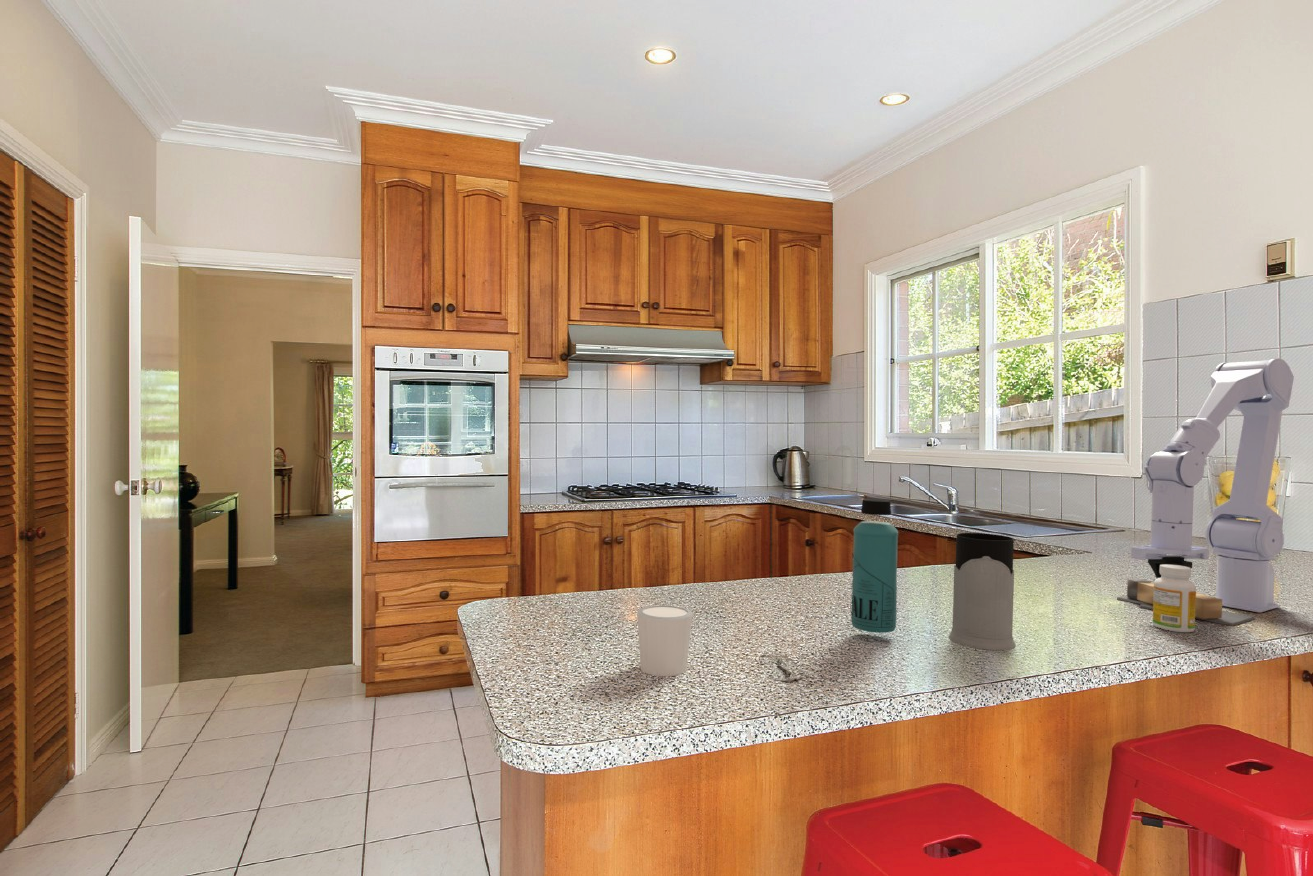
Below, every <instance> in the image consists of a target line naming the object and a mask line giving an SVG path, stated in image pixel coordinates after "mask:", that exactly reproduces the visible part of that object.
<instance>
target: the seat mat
mask: <svg viewBox="0 0 1313 876" xmlns="http://www.w3.org/2000/svg"><path fill="white" fill-rule="evenodd" d="M1138 605H1139V606H1138V607H1139V608H1140V609H1147V610H1150V609H1151V611H1153V604H1150V603H1146V604H1138ZM1195 618H1197V619H1196V620H1200V619H1201V621H1206V622H1210V623H1216V624H1221V625H1226V626H1231V627H1234V626H1236V625H1239V624H1243V623H1246V622H1249V621H1252V620H1255V619H1256V618H1255V616H1252V615H1248V614H1241V613H1237V612H1233V611H1232V612H1231V611H1226V610H1222V618H1208V619H1203V618H1199V617H1196V616H1195Z"/></svg>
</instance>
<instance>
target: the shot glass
mask: <svg viewBox="0 0 1313 876" xmlns="http://www.w3.org/2000/svg"><path fill="white" fill-rule="evenodd" d="M693 615H694V612H693V611H691V610H690V609H688V608H685V607H680V606H676V605H651V606H644V607H642V608H638V610H637V612H636V616H637V617H636V618H637V631H638V645H639V649H638V650H639V661H640V670H641V671H642V672H643V673H646V674H648V675H652V676H657V677H658V676H659V677H672V676H679V675H682V674H684V673H686V671H687V667H688V660H689V659H688V658H689V650H690V644H691V643H690V641H691V631H692V623H693Z"/></svg>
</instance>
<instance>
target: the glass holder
mask: <svg viewBox="0 0 1313 876" xmlns="http://www.w3.org/2000/svg"><path fill="white" fill-rule="evenodd" d="M1014 542H1015V539H1014V538H1013V537H1011V536H1008V535H1007V536H1006V535H1000V534H994V533H982V532H981V533H979V532H960V533H956V539H955V565H954V569H953V594H952V595H953V597H952V598H953V599H952V600H953V601H952V627H951V631H950V633H949V635H948V638H949V639H950V641H952V642H954V643H956V644H957V645H961V646H965V647H970V648H974V649H980V650H989V651H1006V650H1012V649H1014V648H1016V642H1015V640H1014V637H1013V629H1014V628H1013V624H1014V623H1013V622H1014V590H1015V569H1014V546H1015V544H1014Z"/></svg>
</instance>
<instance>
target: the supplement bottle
mask: <svg viewBox="0 0 1313 876" xmlns="http://www.w3.org/2000/svg"><path fill="white" fill-rule="evenodd" d="M1159 572H1160V574H1161V578H1155V579H1154V596H1153V610H1152V625H1153V626H1154V627H1155V628H1157V627H1158V628H1157V629H1160V628H1161V629H1160V630H1165V631H1168V630H1169V631H1170V632H1175V633H1192V632H1194V631H1195V629H1196V619H1195V605H1196V593H1197V586H1196V584H1195V583H1194V582H1192V581H1190V578H1191V576H1192V568H1189V567H1186V566H1180V565H1168V564H1164V565H1160V571H1159Z"/></svg>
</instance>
